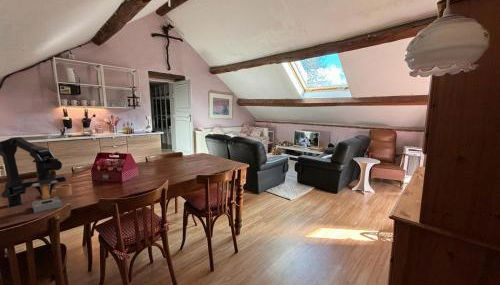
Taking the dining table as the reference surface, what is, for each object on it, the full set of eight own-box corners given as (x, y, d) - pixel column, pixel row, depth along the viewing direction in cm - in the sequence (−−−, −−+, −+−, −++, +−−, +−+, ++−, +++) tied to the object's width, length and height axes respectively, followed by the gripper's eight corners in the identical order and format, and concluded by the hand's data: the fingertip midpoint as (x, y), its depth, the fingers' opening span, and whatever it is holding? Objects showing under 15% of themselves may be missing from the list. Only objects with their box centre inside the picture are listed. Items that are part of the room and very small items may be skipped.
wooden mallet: (74, 193, 157) (74, 183, 156) (66, 197, 148) (65, 187, 148) (47, 194, 155) (46, 184, 154) (37, 198, 147) (36, 188, 146)
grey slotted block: (32, 207, 132) (32, 201, 131) (59, 201, 141) (58, 196, 140) (34, 213, 124) (33, 206, 123) (62, 206, 132) (61, 200, 132)
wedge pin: (41, 198, 131) (40, 185, 131) (50, 196, 134) (48, 184, 133) (42, 200, 129) (40, 186, 128) (51, 198, 132) (49, 185, 131)
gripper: (20, 175, 117) (24, 203, 119) (65, 169, 131) (68, 194, 133) (20, 171, 125) (23, 198, 127) (62, 166, 138) (65, 190, 140)
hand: (46, 195), depth 131 cm, fingers closed on wedge pin, 3 cm apart
